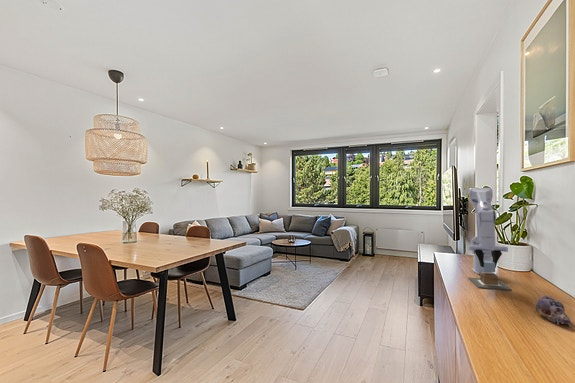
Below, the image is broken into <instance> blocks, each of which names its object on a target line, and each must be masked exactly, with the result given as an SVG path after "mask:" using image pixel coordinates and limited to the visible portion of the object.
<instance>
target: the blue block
mask: <svg viewBox="0 0 575 383" xmlns="http://www.w3.org/2000/svg"><path fill="white" fill-rule="evenodd" d="M482 270H483V271H485V272H493V273H496V268H495V263H494V262H492V261H484V267H482Z"/></svg>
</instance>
